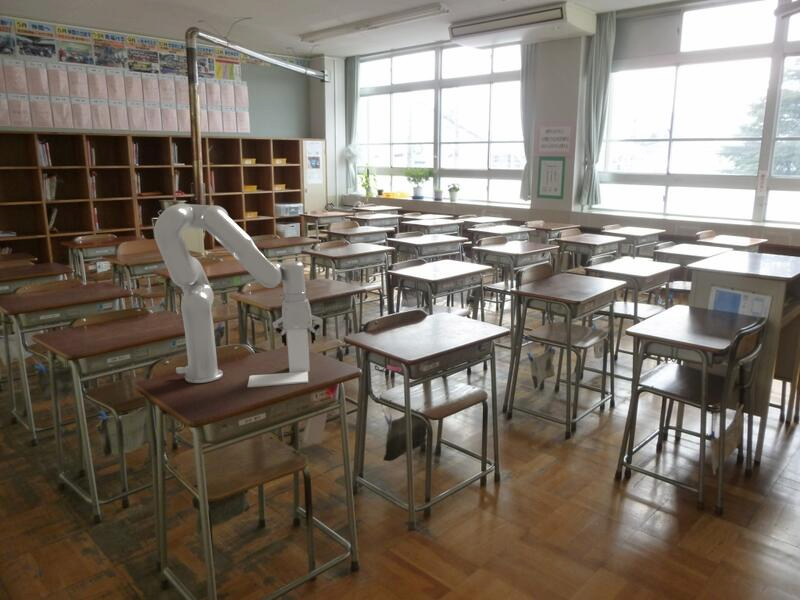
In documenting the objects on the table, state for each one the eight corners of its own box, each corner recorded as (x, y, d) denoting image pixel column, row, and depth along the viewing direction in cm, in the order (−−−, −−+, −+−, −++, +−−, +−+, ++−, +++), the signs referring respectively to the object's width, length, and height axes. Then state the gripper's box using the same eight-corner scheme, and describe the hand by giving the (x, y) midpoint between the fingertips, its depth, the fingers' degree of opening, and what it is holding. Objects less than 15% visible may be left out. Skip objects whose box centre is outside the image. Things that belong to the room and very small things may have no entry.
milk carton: (289, 367, 223) (285, 316, 218) (308, 365, 224) (305, 315, 220) (289, 373, 216) (286, 321, 212) (309, 371, 217) (306, 320, 213)
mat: (247, 387, 203) (247, 385, 203) (250, 377, 213) (249, 375, 213) (308, 382, 206) (308, 381, 206) (307, 373, 216) (307, 371, 216)
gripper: (269, 301, 209) (274, 349, 213) (320, 297, 212) (323, 344, 215) (270, 296, 216) (275, 342, 220) (319, 292, 219) (323, 338, 223)
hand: (299, 343), depth 218 cm, fingers open, 9 cm apart
